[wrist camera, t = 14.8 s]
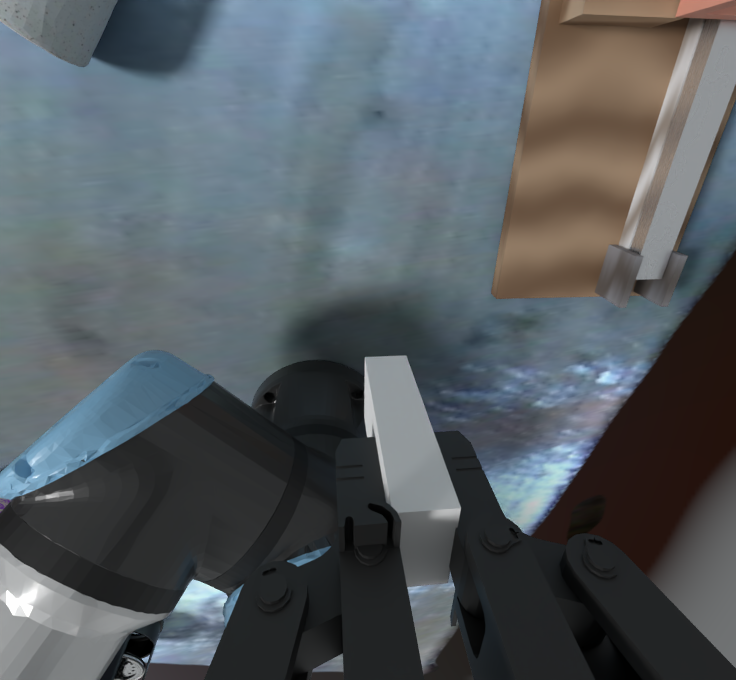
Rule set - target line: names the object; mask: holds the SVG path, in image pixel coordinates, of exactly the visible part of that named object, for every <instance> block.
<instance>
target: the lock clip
mask: <svg viewBox="0 0 736 680" xmlns="http://www.w3.org/2000/svg"><path fill="white" fill-rule="evenodd" d="M675 17H679V18H702V19H725V20H736V0H680V3H679V6H678V10H677V13H676V16H675Z"/></svg>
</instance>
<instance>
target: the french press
mask: <svg viewBox="0 0 736 680" xmlns="http://www.w3.org/2000/svg"><path fill="white" fill-rule="evenodd" d="M162 628H163V620H160V621H157V622H155V623H152V624H150V625H147V626H145V627H142V628H139V629H137V630H135V631H134V632H135V633H139V634H141V635H140V636H131V634H130V635H128V636H127V638H126V640H125V641H124V643H123V644H122V646H121V647H120V649H119V651H118V652H117V654H116V655H115V657H114V658H113V660H112V662H111V663H110V665H109V666H108V668H107V669H106V671H105V673H104V674H103V676H102V677H101V679H100V680H137V679H139V678H141V677H142V676H143V678H142V680H144V679H145V676H146V673H147V670H148V667H149V664H150V661H151V658H152V655H153V651H154V648H155V645H156V642H157V639H158V636H159V633H160V632H161V631H162ZM148 655H150V657H149V660H148V663H147V666H146V669H145V663H144V661H143V660H142V658H144V657H147V656H148Z"/></svg>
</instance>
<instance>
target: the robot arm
mask: <svg viewBox="0 0 736 680" xmlns="http://www.w3.org/2000/svg"><path fill="white" fill-rule="evenodd" d="M0 498H3V499H6V500H7V499H9V500H11V501H10V502H9V504H8V505H7V506H6V507H5V508H4V509H3V510H2V512H1V513H0V680H100V679H101V677H102V676H103V674H104V673H105V671H106V669H107V668H108V666H109V665H110V663H111V662H112V660H113V658H114V657H115V655H116V654H117V652H118V651H119V649H120V647H121V646H122V644H123V643H124V641H125V640H126V638H127V636H128V635H130V634H131V633H132V632H134V631H135V630H137V629H139V628H142V627H145V626H147V625H150V624H152V623H155V622H157V621H160V620H163V619H165V618H167V617H168V616H169V615H170V614H171V613H172V611H173V609H174V608H175V606H176V604H177V603H178V601H179V600H180V598H181V596H182V595H183V593H184V591H185V590H186V588H187V586H188V585H189V583H190V582H191V581H192V580H193V579H194V580H197V581H200V582H203V583H205V584H207V585H210V586H212V587H214V588H216V589H218V590H220V591H222V592H224V593H226V594H227V596H228V598H227V601H226V602H225V604H224V608H223V615H224V618H225V622H224V624H225V630H224V633H223V635H222V638H221V640H220V642H219V645H218V647H217V650H216V652H215V655H214V657H213V660H212V662H211V664H210V667H209V669H208V672H207V674H206V677H205V679H204V680H310V679H311V675H312V670H313V669H314V668H316V667H318V666H319V665H321V664H323V663H325V662H327V661H329V660H331V659H333V658H334V657H336V656H338V655H340V654H342V653H343V667H344V680H424V676H423V671H422V665H421V660H420V654H419V649H418V644H417V638H416V633H415V627H414V622H413V616H412V611H411V606H410V600H409V595H408V589H407V587H411V586H421V585H432V584H443V583H448V579H449V574H450V572H451V575H452V579H453V582H454V586H455V594H454V599H453V605H452V610H451V615H450V618H451V626H456V622H457V619H458V623H459V626H460V630H461V634H462V637H463V641H464V645H465V649H466V652H467V656H468V660H469V663H470V667H471V671H472V675H473V678H474V680H736V668H735V667H734V666H733V665H732V664H731V663H730V662H729V661H728V660H727V659H726V658H725V657H724V656H723V655H722V654H721V653H720V652H719V651H718V650H717V649H716V648H715V647H714V645H713V644H712V643H711V642H710V641H709V640H708V639H707V638H706V637H705V636H704V635H703V634H702V633H701V632H700V631H699V630H698V629H697V628H696V627H695V626H694V625H693V624H692V623H691V622H690V621H689V620H688V619H687V618H686V616H685V615H684V614H683V613H682V612H681V611H680V610H679V609H678V608H677V607H676V606H675V605H674V604H673V603H672V602H671V601H670V600H669V599H668V598H667V597H666V596H665V595H664V594H663V593H662V592H661V591H660V590H659V589H658V587H656V585H655V584H654V583H653V582H652V581H651V580H650V579H649V578H648V577H647V576H646V575H645V574H644V573H643V572H642V571H641V570H640V569H639V568H638V567H637V566H636V565H635V564H634V563H633V562H632V561H631V560H630V558H629V557H628V556H627V555H625V553H624V552H623V551H621V550H620V549H619V548H618V547H617V546H615V545H614V544H613V543H612V542H610V541H608V540H606V539H604V538H602V537H600V536H596V535H592V534H587V533H585V534H577V535H575V536H573V537H572V538H570V539H569V540H568V543H567V545H562V544H558V543H553V542H549V541H544V540H540V539H537V538H533V537H530V536H528V535H526V534H524V533H522V531H521V530H520V528H519V527H518V526H517V525H516V524H514V523H513V522H512V521H510V520H509V519H507V518H506V517H505V515H504V514H503V512H502V510H501V508H500V506H499V503H498V501H497V499H496V497H495V495H494V493H493V490H492V488H491V486H490V484H489V482H488V480H487V477H486V475H485V473H484V471H483V470H482V467H481V464H480V462H479V460H478V459H477V456H476V454H475V451H474V449H473V447H472V445H471V443H470V442H469V441H468V440H467V439H466V438H465V437H464V436H463V435H462V434H461V433H460V432H459V431H448V432H434V431H433V429H432V426H431V423H430V420H429V418H428V415H427V412H426V409H425V406H424V404H423V401H422V398H421V395H420V392H419V390H418V387H417V384H416V381H415V379H414V376H413V373H412V370H411V367H410V365H409V362H408V359H407V356H406V355H405V356H380V357H365V378H364V377H363V376H361V375H360V374H359V373H357V372H356V371H354V370H352V369H351V368H348V367H346V366H344V365H341V364H337V363H334V362H328V361H305V362H299V363H295V364H292V365H289V366H286V367H284V368H282V369H280V370H278V371H276V372H275V373H273V374H272V375H271V376H269V377H268V378H267V379H266V380H265V381H264V382H263V383H262V384H261V386H260V387H259V389H258V390H257V392H256V394H255V396H254V399H253V402H252V406H251V407H250V406H248V405H247V404H246V403H244V402H243V401H241V400H240V399H239V398H237V397H236V396H234V395H233V394H231V393H230V392H229V391H227V390H226V389H224V388H223V387H222V386H220V385H219V384H217V383H216V382H214V377H213V376H211V375H209V374H203V373H202V372H200V371H198V370H197V369H195V368H194V367H192V366H190V365H189V364H187V363H185V362H184V361H182V360H181V359H179V358H177V357H176V356H174V355H172V354H170V353H168V352H165V351H160V350H151V351H146V352H143V353H140V354H138V355H136V356H135V357H133V358H132V359H131V360H129V361H128V362H127V363H126V364H124V365H123V366H122V367H121V368H120V369H118V370H117V371H116V372H115V373H114V374H112V375H111V376H110V377H109V378H108V379H106V380H105V381H104V382H103V383H102V384H101V385H100V386H98V387H97V388H96V389H95V390H94V391H93V392H91V393H90V394H89V395H88V396H87V397H85V398H84V399H83V400H82V401H81V402H80V403H78V404H77V405H76V406H75V407H74V408H73V409H72V410H70V411H69V412H68V413H67V414H66V415H65V416H63V417H62V418H61V419H60V420H59V421H58V422H57V423H55V424H54V425H53V426H52V427H51V428H50V429H49V430H47V431H46V432H45V433H44V434H43V435H42V436H41V437H40V438H39V439H38V440H36V441H35V442H34V443H33V444H32V445H31V446H30V447H29V448H27V449H26V450H25V451H24V452H23V453H22V454H21V455H19V456H18V457H17V458H16V459H15V460H14V461H12V462H11V463H10V464H9V465H8V466H7V467H6V468H5V469H4V470H2V471H1V472H0Z"/></svg>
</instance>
